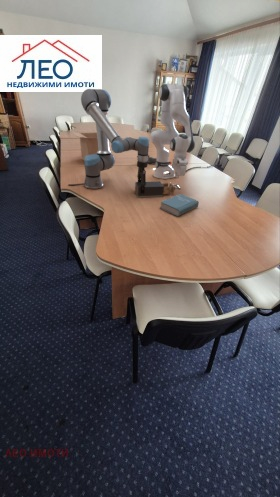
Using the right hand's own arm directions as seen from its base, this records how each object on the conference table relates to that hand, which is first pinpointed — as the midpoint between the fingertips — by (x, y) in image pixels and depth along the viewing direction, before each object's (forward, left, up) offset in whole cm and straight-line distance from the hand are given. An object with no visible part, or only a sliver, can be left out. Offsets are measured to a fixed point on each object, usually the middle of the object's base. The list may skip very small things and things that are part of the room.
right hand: (176, 177), depth 171 cm
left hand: (+27, -7, -10) cm, 30 cm away
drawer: (+9, -2, -12) cm, 15 cm away
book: (+12, +24, -13) cm, 30 cm away
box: (+35, -103, -13) cm, 110 cm away
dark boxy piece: (+21, -5, -13) cm, 25 cm away
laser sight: (-20, -81, -13) cm, 84 cm away
